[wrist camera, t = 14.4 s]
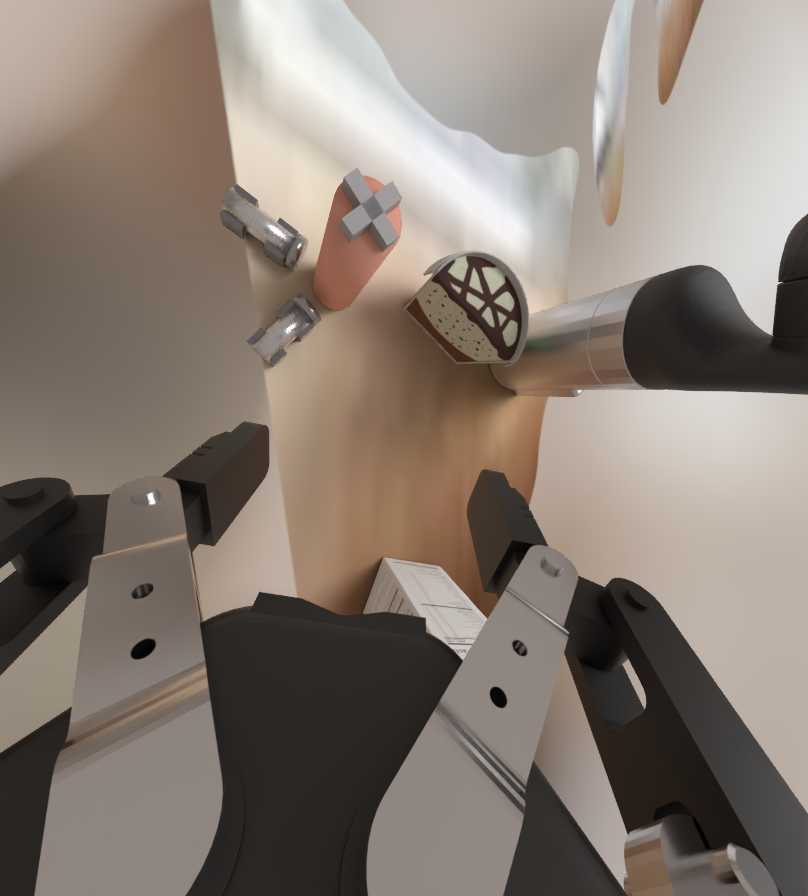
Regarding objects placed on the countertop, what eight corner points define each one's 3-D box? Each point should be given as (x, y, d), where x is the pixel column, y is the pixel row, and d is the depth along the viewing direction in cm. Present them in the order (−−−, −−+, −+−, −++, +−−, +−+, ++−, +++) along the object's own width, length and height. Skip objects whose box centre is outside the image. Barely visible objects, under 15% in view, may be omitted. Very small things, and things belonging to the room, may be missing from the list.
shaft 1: (307, 248, 30) (309, 234, 27) (292, 274, 30) (293, 263, 27) (238, 196, 28) (233, 174, 25) (222, 224, 27) (215, 206, 25)
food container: (491, 334, 39) (553, 317, 30) (464, 371, 39) (519, 365, 30) (425, 257, 35) (476, 209, 25) (393, 299, 34) (433, 265, 25)
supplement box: (358, 620, 40) (405, 766, 24) (381, 555, 39) (445, 662, 24) (420, 624, 43) (494, 753, 28) (442, 565, 43) (530, 663, 28)
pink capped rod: (363, 294, 33) (420, 224, 19) (332, 318, 32) (369, 264, 18) (336, 255, 31) (377, 148, 17) (303, 280, 30) (318, 189, 17)
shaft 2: (296, 298, 31) (298, 289, 28) (319, 323, 32) (322, 316, 29) (248, 344, 30) (244, 339, 27) (273, 367, 31) (272, 365, 28)
